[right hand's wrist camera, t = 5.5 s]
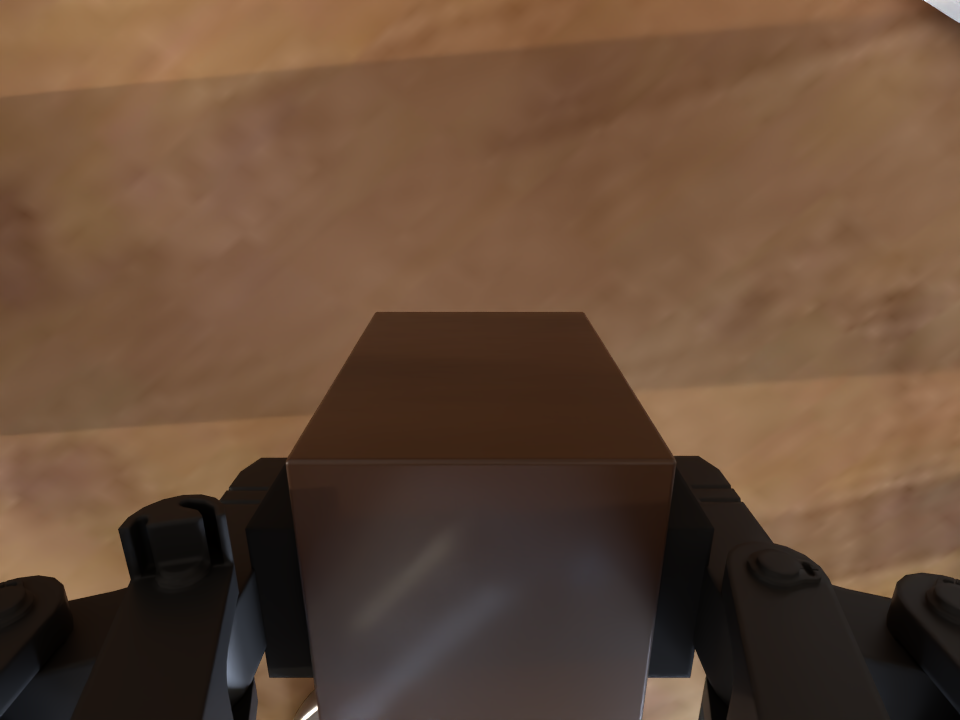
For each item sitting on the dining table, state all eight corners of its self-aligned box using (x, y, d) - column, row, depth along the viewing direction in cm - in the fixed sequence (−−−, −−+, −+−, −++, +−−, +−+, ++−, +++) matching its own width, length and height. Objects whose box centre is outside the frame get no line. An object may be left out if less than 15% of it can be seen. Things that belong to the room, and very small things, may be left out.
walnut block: (572, 492, 16) (640, 741, 9) (386, 491, 16) (320, 742, 9) (584, 311, 14) (678, 460, 7) (375, 311, 14) (282, 460, 7)
